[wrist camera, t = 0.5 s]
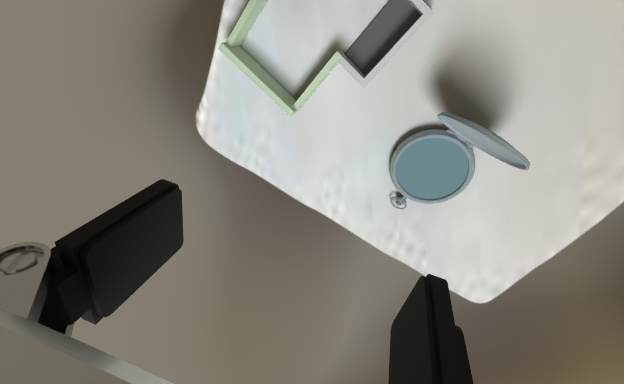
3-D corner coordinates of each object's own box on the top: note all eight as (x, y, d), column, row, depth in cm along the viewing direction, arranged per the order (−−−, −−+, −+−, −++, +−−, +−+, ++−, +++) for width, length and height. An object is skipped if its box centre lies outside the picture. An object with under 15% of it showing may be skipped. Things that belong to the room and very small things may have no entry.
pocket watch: (556, 177, 24) (430, 276, 32) (512, 138, 33) (423, 222, 41) (458, 110, 23) (355, 227, 31) (441, 90, 33) (365, 184, 41)
